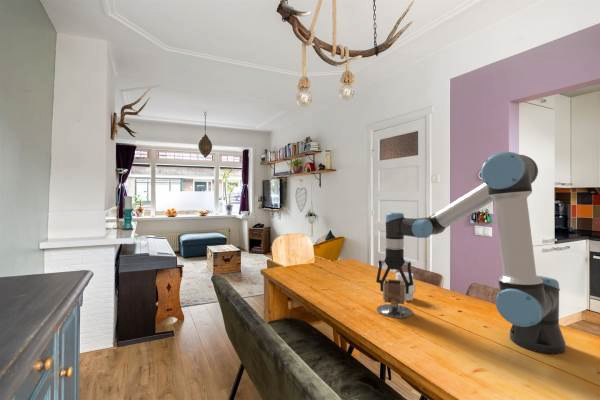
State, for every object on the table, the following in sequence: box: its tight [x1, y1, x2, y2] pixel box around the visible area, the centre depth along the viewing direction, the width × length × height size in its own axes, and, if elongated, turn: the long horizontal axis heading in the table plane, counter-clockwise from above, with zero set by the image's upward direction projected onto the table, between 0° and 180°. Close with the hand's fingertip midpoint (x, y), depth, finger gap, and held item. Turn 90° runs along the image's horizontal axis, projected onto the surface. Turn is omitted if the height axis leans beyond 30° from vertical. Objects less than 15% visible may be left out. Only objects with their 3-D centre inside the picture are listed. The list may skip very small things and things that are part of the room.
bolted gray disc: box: [376, 303, 414, 319], centre depth 135 cm, size 15×15×9 cm
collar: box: [383, 278, 405, 307], centre depth 133 cm, size 12×8×8 cm, turn 161°
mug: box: [395, 271, 417, 302], centre depth 151 cm, size 12×8×12 cm
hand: (394, 299), depth 135 cm, fingers closed on collar, 8 cm apart
